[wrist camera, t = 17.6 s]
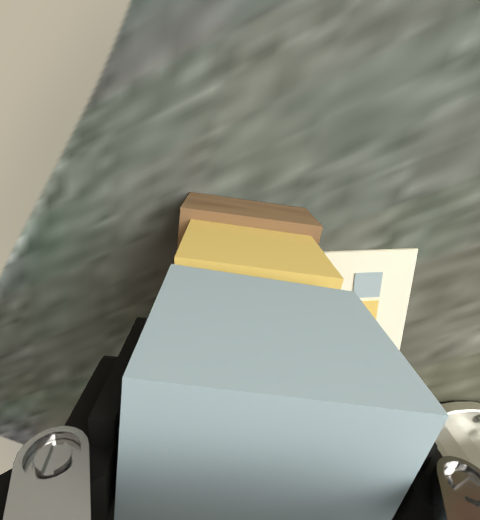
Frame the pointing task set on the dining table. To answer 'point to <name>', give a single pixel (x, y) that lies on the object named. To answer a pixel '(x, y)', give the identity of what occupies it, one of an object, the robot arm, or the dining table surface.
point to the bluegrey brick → (267, 406)
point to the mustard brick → (256, 254)
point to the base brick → (247, 215)
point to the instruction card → (379, 283)
